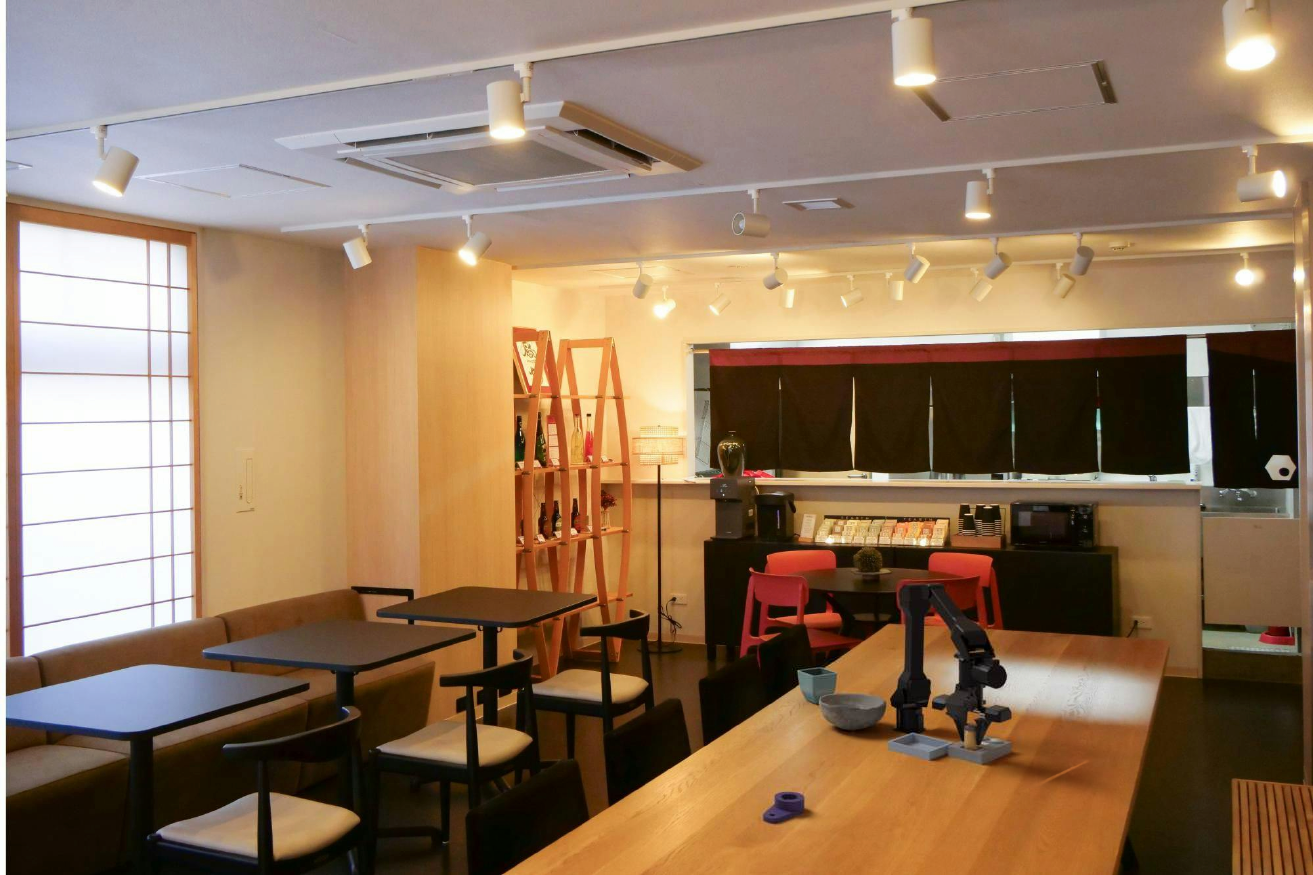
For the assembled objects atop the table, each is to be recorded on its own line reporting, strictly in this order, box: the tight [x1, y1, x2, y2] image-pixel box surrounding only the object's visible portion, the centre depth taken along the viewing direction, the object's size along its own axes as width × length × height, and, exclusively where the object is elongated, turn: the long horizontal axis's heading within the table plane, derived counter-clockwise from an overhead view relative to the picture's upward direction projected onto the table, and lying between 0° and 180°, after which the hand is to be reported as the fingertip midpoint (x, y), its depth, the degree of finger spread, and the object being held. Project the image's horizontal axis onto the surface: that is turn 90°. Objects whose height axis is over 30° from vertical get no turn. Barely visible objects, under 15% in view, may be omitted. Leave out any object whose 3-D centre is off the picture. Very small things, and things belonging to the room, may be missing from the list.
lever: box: [762, 791, 805, 824], centre depth 223 cm, size 12×6×3 cm, turn 142°
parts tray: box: [887, 733, 955, 761], centre depth 265 cm, size 12×11×2 cm
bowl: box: [818, 692, 887, 731], centre depth 287 cm, size 18×18×8 cm
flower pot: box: [797, 667, 838, 705], centre depth 315 cm, size 9×9×9 cm
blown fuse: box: [964, 722, 978, 751], centre depth 259 cm, size 3×3×8 cm
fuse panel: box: [947, 735, 1012, 766], centre depth 261 cm, size 9×14×4 cm, turn 133°
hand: (971, 743), depth 259 cm, fingers open, 4 cm apart
